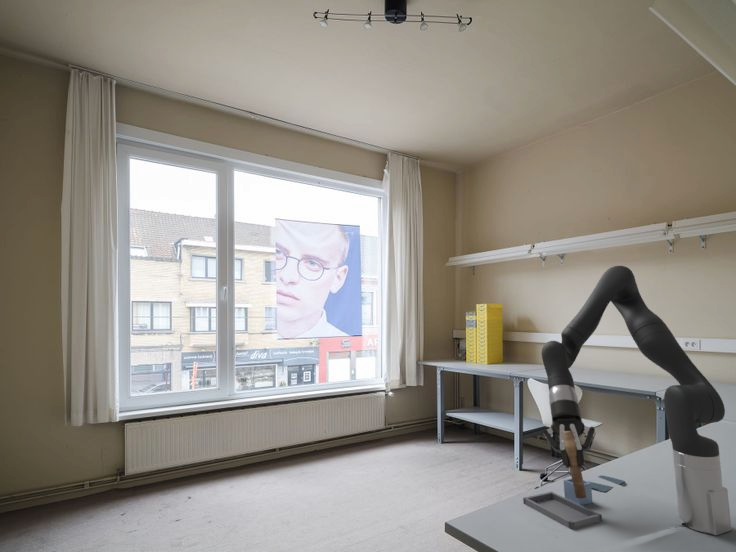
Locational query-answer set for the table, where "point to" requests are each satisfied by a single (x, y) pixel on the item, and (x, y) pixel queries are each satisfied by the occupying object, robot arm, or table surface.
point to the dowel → (574, 464)
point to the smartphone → (604, 487)
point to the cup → (570, 492)
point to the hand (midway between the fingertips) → (574, 466)
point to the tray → (562, 510)
